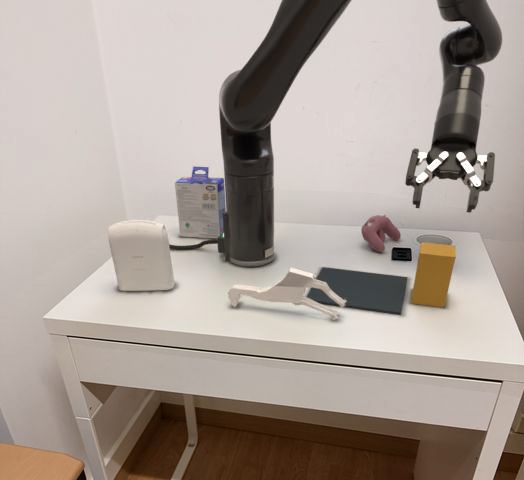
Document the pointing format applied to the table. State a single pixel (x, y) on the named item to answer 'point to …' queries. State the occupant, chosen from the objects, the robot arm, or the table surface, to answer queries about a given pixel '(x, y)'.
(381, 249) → the video game controller
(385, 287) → the mat
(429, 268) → the block
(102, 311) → the table surface
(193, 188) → the ink cartridge box
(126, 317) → the table surface
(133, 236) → the photo printer
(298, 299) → the llama figurine
